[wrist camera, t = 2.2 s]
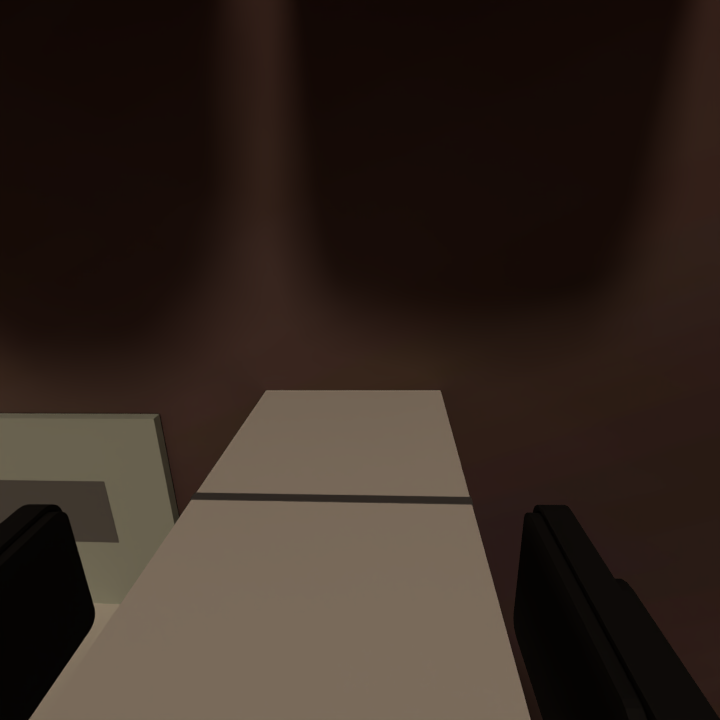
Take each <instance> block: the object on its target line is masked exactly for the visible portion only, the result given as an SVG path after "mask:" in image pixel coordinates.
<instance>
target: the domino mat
mask: <svg viewBox="0 0 720 720" xmlns="http://www.w3.org/2000/svg"><path fill="white" fill-rule="evenodd" d="M27 504H54V505H58V506H59V507H60V508H61V510H62V512H65V513H66V514H67V515H68V517H69V520H70V524H71V527H72V531H73V534H74V538H75V541H76V545H77V548H78V552H79V555H80V559H81V562H82V566H83V569H84V573H85V576H86V580H87V583H88V587H89V590H90V594H91V597H92V601H93V603H100V604H121V602H122V601H123V599H124V598H125V597H126V595H127V594H128V592H129V591H130V589H131V588H132V586H133V585H134V583H135V582H136V580H137V579H138V577H139V576H140V575H141V573H142V572H143V570H144V569H145V567H146V566H147V564H148V563H149V561H150V560H151V558H152V557H153V556H154V554H155V553H156V551H157V550H158V548H159V547H160V545H161V544H162V542H163V541H164V539H165V538H166V536H167V535H168V534H169V532H170V531H171V529H172V528H173V526H174V525H175V523H176V522H177V520H178V519H179V515H178V509H177V504H176V499H175V494H174V488H173V483H172V478H171V473H170V468H169V462H168V457H167V452H166V447H165V441H164V436H163V431H162V426H161V421H160V415H159V414H9V413H0V523H2V522H3V521H4V520H5V519H6V518H8V517H9V516H10V515H11V514H12V513H14V512H15V511H16V510H17V509H18V508H20V507H22V506H23V505H27Z"/></svg>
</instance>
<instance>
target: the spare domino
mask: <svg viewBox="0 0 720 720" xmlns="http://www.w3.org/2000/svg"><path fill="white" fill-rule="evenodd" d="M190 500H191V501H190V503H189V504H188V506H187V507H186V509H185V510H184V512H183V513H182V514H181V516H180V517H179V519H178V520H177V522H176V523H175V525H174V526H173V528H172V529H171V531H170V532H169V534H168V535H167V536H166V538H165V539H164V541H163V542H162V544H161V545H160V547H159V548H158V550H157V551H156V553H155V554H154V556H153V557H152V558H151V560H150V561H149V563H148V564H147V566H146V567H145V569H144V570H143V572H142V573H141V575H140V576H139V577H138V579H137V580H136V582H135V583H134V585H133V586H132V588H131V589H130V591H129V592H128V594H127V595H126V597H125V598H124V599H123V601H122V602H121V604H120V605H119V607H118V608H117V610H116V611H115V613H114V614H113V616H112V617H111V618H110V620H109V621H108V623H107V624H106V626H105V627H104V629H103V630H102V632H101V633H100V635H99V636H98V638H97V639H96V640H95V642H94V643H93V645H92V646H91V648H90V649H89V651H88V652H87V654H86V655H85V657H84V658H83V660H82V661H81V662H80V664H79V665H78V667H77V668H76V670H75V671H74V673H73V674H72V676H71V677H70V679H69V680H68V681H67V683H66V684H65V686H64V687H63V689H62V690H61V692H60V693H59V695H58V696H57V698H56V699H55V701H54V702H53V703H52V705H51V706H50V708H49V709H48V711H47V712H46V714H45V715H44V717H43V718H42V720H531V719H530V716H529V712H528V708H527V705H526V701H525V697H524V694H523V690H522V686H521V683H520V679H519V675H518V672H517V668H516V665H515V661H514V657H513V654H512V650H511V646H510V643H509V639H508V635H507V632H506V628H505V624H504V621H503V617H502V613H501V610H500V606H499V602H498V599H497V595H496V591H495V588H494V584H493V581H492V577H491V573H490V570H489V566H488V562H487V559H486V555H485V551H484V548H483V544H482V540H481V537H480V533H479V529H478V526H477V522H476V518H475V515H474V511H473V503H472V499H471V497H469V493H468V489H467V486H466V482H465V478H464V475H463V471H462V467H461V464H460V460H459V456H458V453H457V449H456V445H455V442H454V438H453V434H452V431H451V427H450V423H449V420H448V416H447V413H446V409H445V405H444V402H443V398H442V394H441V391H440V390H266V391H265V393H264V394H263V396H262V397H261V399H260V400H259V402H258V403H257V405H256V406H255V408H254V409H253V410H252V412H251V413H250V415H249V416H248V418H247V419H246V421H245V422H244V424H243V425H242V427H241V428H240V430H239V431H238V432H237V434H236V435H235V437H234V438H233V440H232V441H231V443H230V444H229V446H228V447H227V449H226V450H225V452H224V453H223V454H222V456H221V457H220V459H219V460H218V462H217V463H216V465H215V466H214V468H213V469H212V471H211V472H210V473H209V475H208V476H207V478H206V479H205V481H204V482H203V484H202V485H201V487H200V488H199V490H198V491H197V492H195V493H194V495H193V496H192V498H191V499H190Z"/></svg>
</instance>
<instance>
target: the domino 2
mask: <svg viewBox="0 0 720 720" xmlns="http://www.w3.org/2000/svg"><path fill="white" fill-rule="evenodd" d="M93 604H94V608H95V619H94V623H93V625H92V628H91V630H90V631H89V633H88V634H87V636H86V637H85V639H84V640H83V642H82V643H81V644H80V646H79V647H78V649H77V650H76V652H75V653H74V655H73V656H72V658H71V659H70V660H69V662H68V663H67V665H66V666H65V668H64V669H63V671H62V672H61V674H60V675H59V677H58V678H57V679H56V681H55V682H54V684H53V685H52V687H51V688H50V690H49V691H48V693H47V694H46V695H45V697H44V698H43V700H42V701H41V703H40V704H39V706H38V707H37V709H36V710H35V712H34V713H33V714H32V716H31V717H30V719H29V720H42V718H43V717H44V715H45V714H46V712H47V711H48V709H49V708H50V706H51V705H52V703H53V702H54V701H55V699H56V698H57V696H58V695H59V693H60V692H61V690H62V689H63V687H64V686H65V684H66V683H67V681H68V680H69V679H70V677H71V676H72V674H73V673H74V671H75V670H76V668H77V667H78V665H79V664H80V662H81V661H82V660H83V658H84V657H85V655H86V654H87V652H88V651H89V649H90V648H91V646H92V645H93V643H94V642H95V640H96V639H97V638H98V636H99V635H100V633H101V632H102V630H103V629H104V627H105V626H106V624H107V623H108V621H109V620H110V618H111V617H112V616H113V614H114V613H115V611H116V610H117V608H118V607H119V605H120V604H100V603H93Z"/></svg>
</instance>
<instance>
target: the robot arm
mask: <svg viewBox="0 0 720 720" xmlns="http://www.w3.org/2000/svg"><path fill="white" fill-rule="evenodd" d="M94 619H95V608H94V604H93V601H92V597H91V594H90V590H89V587H88V583H87V580H86V576H85V573H84V569H83V566H82V562H81V559H80V555H79V552H78V548H77V545H76V541H75V538H74V534H73V531H72V527H71V524H70V520H69V517H68V515H67V514H66V513H65V512H62V510H61V508H60V507H59V506H58V505H54V504H27V505H23V506H22V507H20V508H18V509H17V510H16V511H15V512H14V513H12V514H11V515H10V516H9V517H8V518H6V519H5V520H4V521H3V522H2V523H0V720H29V719H30V717H31V716H32V714H33V713H34V712H35V710H36V709H37V707H38V706H39V704H40V703H41V701H42V700H43V698H44V697H45V695H46V694H47V693H48V691H49V690H50V688H51V687H52V685H53V684H54V682H55V681H56V679H57V678H58V677H59V675H60V674H61V672H62V671H63V669H64V668H65V666H66V665H67V663H68V662H69V660H70V659H71V658H72V656H73V655H74V653H75V652H76V650H77V649H78V647H79V646H80V644H81V643H82V642H83V640H84V639H85V637H86V636H87V634H88V633H89V631H90V630H91V628H92V625H93V623H94ZM514 629H515V634H516V637H517V641H518V644H519V647H520V650H521V653H522V656H523V659H524V662H525V665H526V669H527V672H528V675H529V678H530V681H531V684H532V687H533V690H534V693H535V696H536V700H537V703H538V706H539V709H540V712H541V715H542V718H543V720H720V719H719V717H718V716H717V714H716V713H715V711H714V710H713V708H712V707H711V705H710V704H709V702H708V701H707V699H706V698H705V696H704V695H703V693H702V692H701V690H700V689H699V687H698V686H697V684H696V683H695V681H694V680H693V678H692V677H691V675H690V674H689V672H688V671H687V669H686V668H685V666H684V665H683V663H682V662H681V660H680V659H679V657H678V656H677V655H676V653H675V652H674V650H673V649H672V647H671V646H670V644H669V643H668V641H667V640H666V638H665V637H664V635H663V634H662V632H661V631H660V629H659V628H658V626H657V625H656V623H655V622H654V620H653V619H652V617H651V616H650V614H649V613H648V611H647V610H646V608H645V607H644V605H643V604H642V602H641V601H640V599H639V598H638V596H637V595H636V593H635V592H634V590H633V589H632V588H631V587H630V586H629V584H628V583H627V582H625V581H624V580H622V579H615V578H614V577H613V575H612V574H611V572H610V571H609V569H608V567H607V566H606V564H605V563H604V561H603V560H602V558H601V556H600V555H599V553H598V552H597V550H596V549H595V547H594V546H593V544H592V542H591V541H590V539H589V538H588V536H587V535H586V533H585V532H584V530H583V528H582V527H581V525H580V524H579V522H578V521H577V519H576V517H575V516H574V514H573V513H572V511H571V510H570V508H569V507H568V506H566V505H536V506H535V507H534V510H533V513H526V514H525V517H524V524H523V533H522V542H521V551H520V561H519V570H518V579H517V588H516V597H515V607H514Z"/></svg>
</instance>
